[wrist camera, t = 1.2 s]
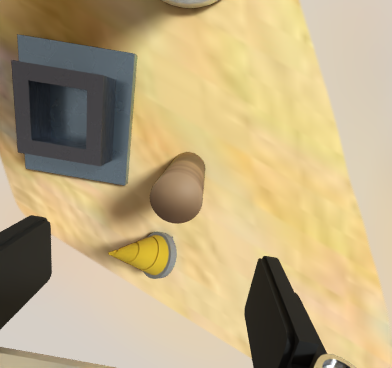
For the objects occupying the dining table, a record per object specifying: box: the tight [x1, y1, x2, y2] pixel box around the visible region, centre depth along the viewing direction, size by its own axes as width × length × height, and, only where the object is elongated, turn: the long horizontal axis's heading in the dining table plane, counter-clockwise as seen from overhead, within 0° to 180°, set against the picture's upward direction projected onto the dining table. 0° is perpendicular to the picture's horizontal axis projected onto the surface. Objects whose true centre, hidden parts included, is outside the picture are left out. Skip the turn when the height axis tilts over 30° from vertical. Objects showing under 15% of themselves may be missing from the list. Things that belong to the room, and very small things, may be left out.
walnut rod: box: [150, 152, 205, 223], centre depth 22 cm, size 4×4×10 cm
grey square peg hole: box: [11, 34, 137, 185], centre depth 24 cm, size 14×12×4 cm
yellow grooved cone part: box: [108, 232, 177, 279], centre depth 27 cm, size 5×5×10 cm
